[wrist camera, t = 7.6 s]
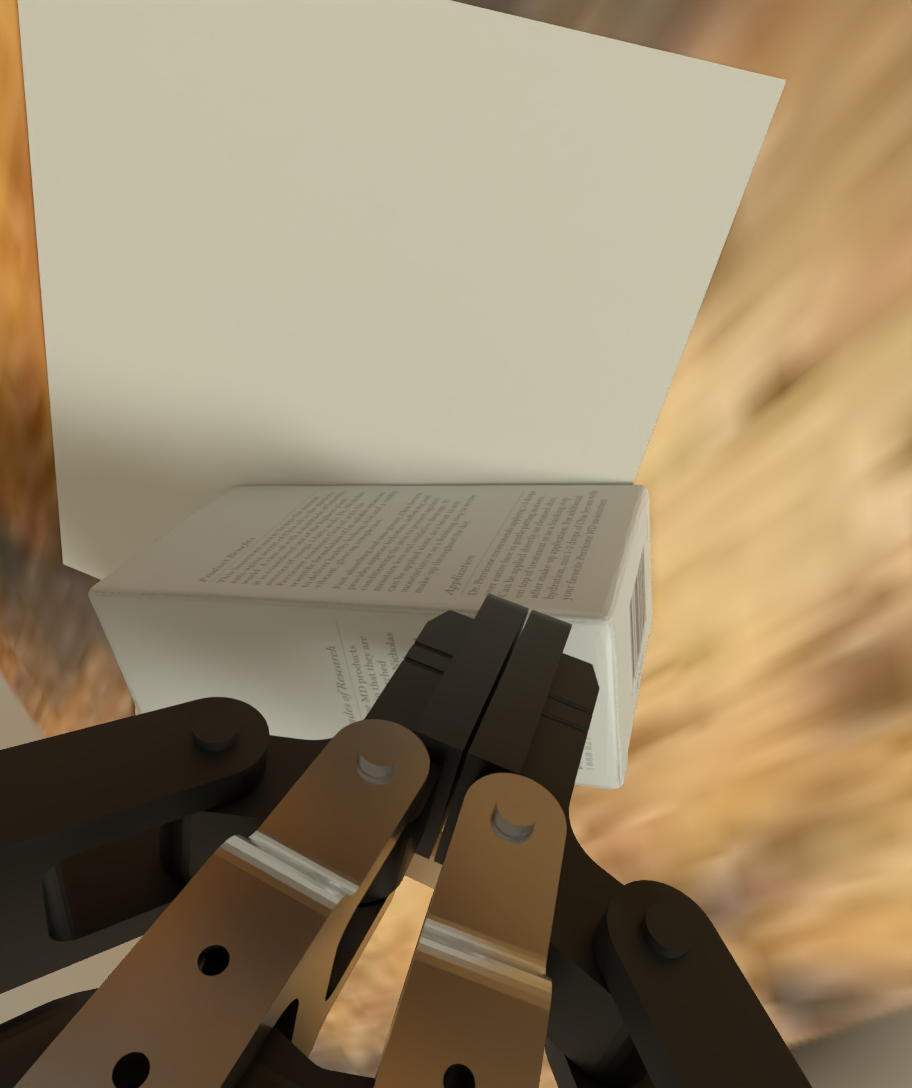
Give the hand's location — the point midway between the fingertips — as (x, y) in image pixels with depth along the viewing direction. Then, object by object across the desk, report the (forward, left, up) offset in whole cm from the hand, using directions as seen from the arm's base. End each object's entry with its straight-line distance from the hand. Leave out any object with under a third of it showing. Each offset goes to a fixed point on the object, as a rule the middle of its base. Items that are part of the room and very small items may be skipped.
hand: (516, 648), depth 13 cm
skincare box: (-2, +1, -4) cm, 4 cm away
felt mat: (+7, 0, -7) cm, 10 cm away
